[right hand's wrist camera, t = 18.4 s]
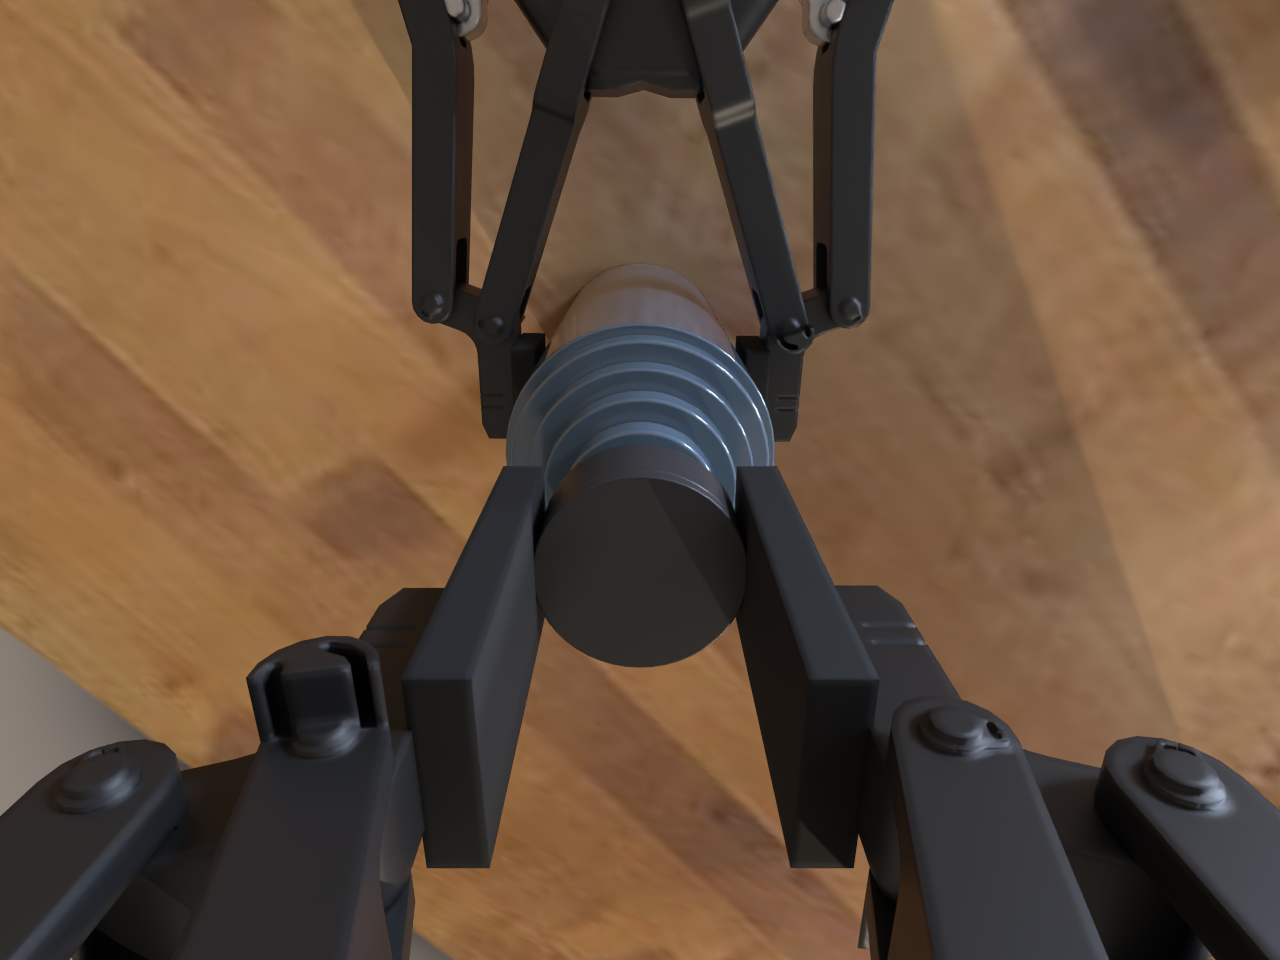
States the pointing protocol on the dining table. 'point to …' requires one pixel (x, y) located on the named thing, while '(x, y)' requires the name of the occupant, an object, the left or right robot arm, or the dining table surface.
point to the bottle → (640, 382)
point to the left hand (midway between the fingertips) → (638, 522)
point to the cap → (640, 557)
